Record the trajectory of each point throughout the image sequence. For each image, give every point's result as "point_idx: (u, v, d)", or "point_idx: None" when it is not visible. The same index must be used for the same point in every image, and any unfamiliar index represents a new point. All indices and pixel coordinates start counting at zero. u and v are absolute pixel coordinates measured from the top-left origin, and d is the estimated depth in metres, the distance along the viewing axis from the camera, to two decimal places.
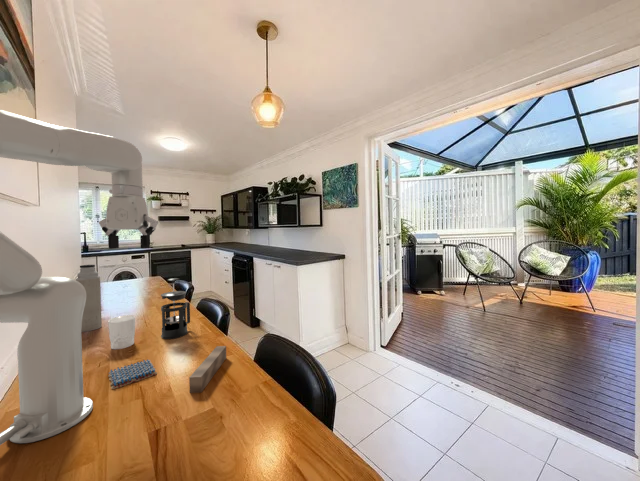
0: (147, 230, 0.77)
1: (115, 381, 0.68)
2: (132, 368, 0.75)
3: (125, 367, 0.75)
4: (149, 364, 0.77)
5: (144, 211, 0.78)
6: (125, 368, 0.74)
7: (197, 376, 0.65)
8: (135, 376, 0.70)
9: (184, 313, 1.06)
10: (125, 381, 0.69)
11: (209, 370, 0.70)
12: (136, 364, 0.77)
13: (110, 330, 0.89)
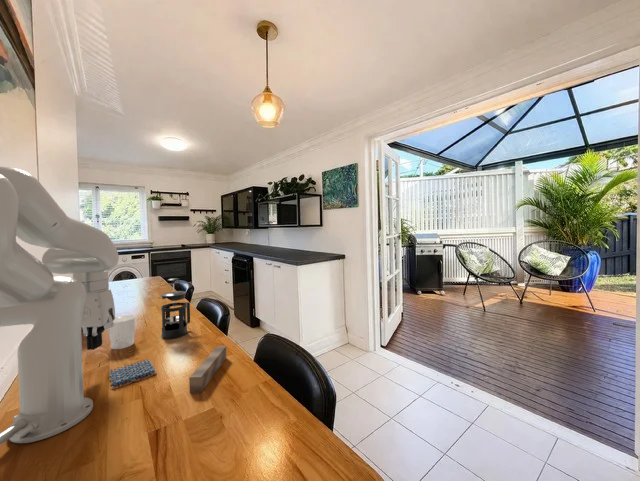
0: (99, 333, 0.73)
1: (115, 381, 0.68)
2: (132, 368, 0.75)
3: (125, 367, 0.75)
4: (149, 364, 0.76)
5: (110, 305, 0.73)
6: (125, 368, 0.74)
7: (197, 376, 0.65)
8: (135, 376, 0.70)
9: (184, 313, 1.06)
10: (125, 381, 0.69)
11: (209, 370, 0.70)
12: (136, 364, 0.77)
13: (110, 330, 0.89)
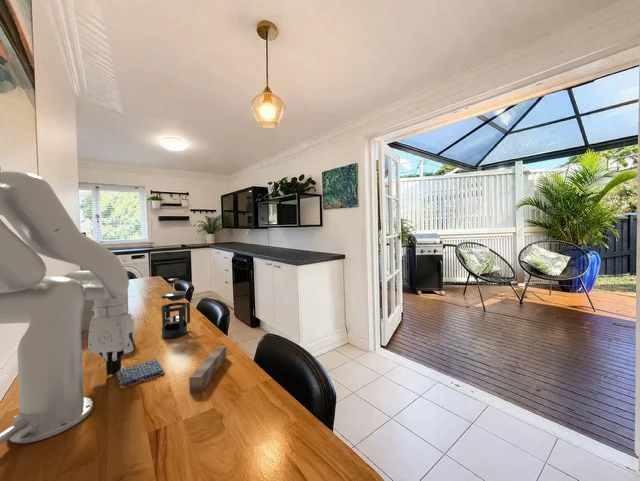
0: (119, 357, 0.72)
1: (124, 381, 0.68)
2: (140, 368, 0.75)
3: (133, 367, 0.75)
4: (157, 364, 0.77)
5: (130, 329, 0.73)
6: (133, 368, 0.74)
7: (197, 376, 0.65)
8: (144, 376, 0.71)
9: (184, 313, 1.06)
10: (134, 381, 0.69)
11: (209, 370, 0.70)
12: (144, 364, 0.77)
13: None
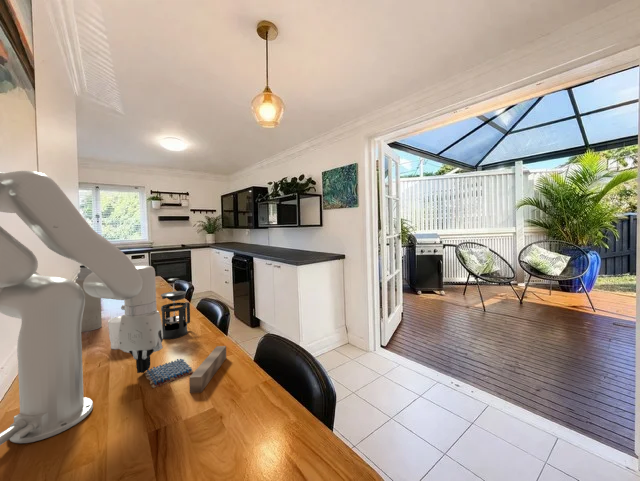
0: (149, 355, 0.73)
1: (155, 380, 0.68)
2: (168, 367, 0.75)
3: (161, 366, 0.75)
4: (184, 363, 0.77)
5: (159, 327, 0.74)
6: (161, 367, 0.75)
7: (197, 376, 0.65)
8: (173, 375, 0.71)
9: (184, 313, 1.06)
10: (164, 380, 0.69)
11: (209, 370, 0.70)
12: (171, 363, 0.77)
13: (110, 330, 0.89)
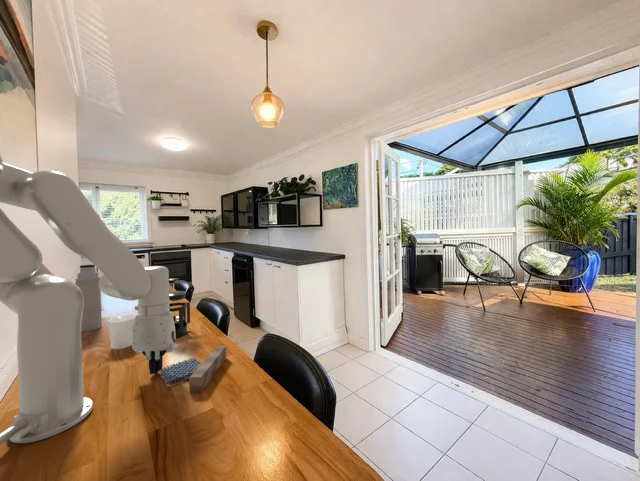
0: (161, 356, 0.73)
1: (170, 379, 0.68)
2: (181, 366, 0.75)
3: (174, 365, 0.75)
4: (197, 362, 0.77)
5: (172, 328, 0.73)
6: (175, 366, 0.75)
7: (197, 376, 0.65)
8: (188, 374, 0.71)
9: (184, 313, 1.06)
10: (179, 379, 0.70)
11: (209, 370, 0.70)
12: (184, 362, 0.77)
13: (110, 330, 0.89)
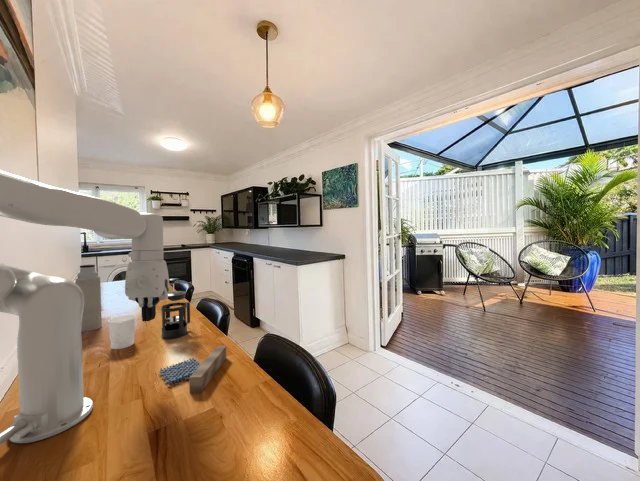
0: (154, 304, 0.72)
1: (170, 379, 0.68)
2: (181, 367, 0.75)
3: (174, 366, 0.75)
4: (197, 363, 0.77)
5: (165, 276, 0.73)
6: (174, 367, 0.75)
7: (197, 376, 0.65)
8: (188, 374, 0.71)
9: (184, 313, 1.06)
10: (179, 379, 0.70)
11: (209, 370, 0.70)
12: (184, 363, 0.77)
13: (110, 330, 0.89)
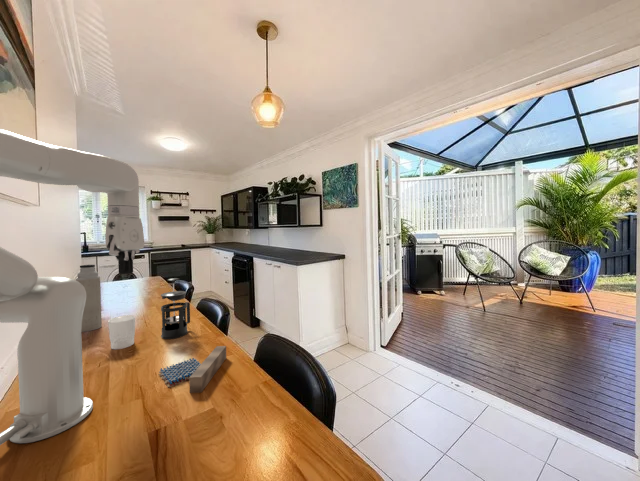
0: (133, 257, 0.79)
1: (170, 379, 0.68)
2: (181, 367, 0.75)
3: (174, 366, 0.75)
4: (197, 362, 0.77)
5: None
6: (174, 367, 0.75)
7: (197, 376, 0.65)
8: (188, 374, 0.71)
9: (184, 313, 1.06)
10: (179, 379, 0.70)
11: (209, 370, 0.70)
12: (184, 363, 0.77)
13: (110, 330, 0.89)
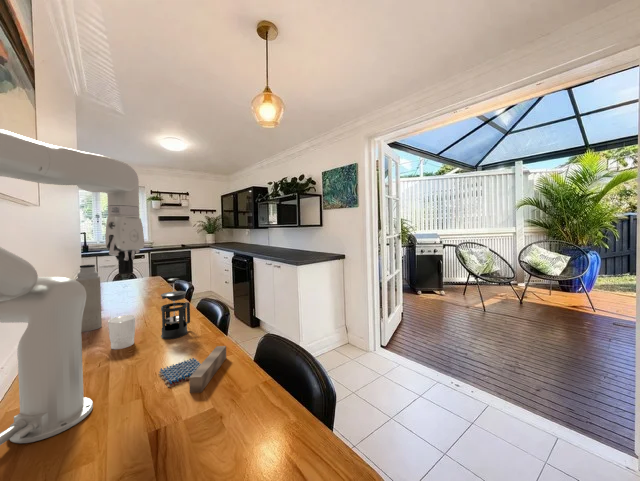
0: (133, 257, 0.79)
1: (170, 379, 0.68)
2: (181, 367, 0.75)
3: (174, 366, 0.75)
4: (197, 363, 0.77)
5: None
6: (175, 367, 0.75)
7: (197, 376, 0.65)
8: (188, 374, 0.71)
9: (184, 313, 1.06)
10: (179, 379, 0.70)
11: (209, 370, 0.70)
12: (184, 363, 0.77)
13: (110, 330, 0.89)
